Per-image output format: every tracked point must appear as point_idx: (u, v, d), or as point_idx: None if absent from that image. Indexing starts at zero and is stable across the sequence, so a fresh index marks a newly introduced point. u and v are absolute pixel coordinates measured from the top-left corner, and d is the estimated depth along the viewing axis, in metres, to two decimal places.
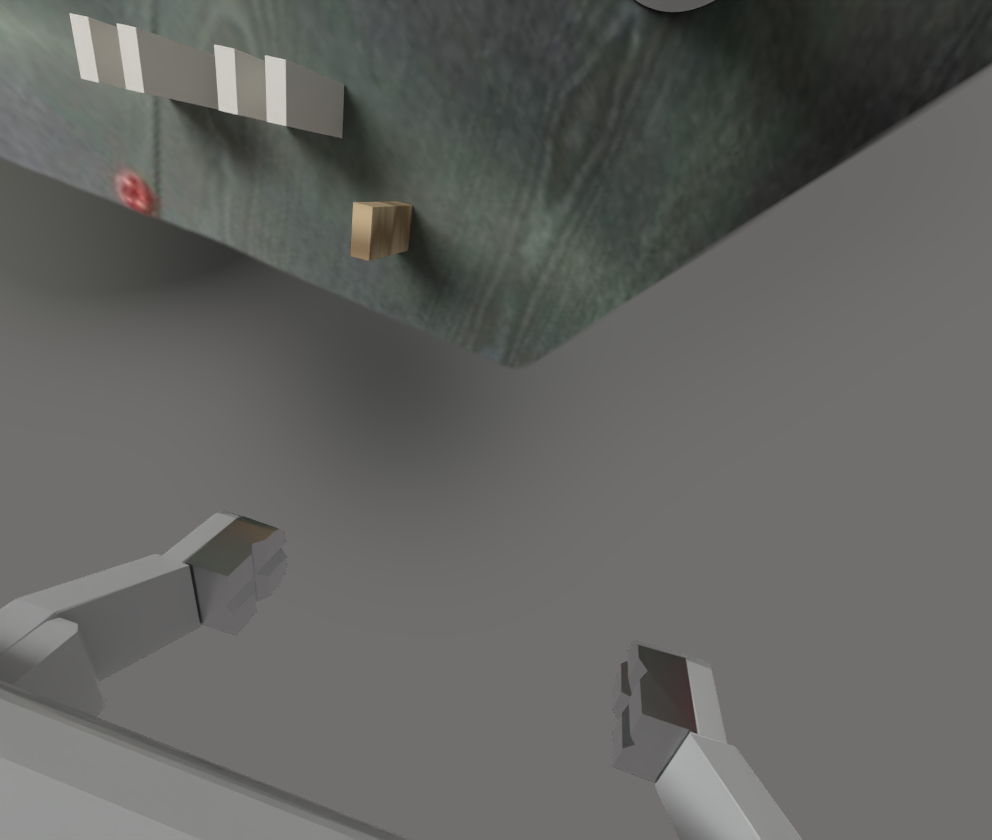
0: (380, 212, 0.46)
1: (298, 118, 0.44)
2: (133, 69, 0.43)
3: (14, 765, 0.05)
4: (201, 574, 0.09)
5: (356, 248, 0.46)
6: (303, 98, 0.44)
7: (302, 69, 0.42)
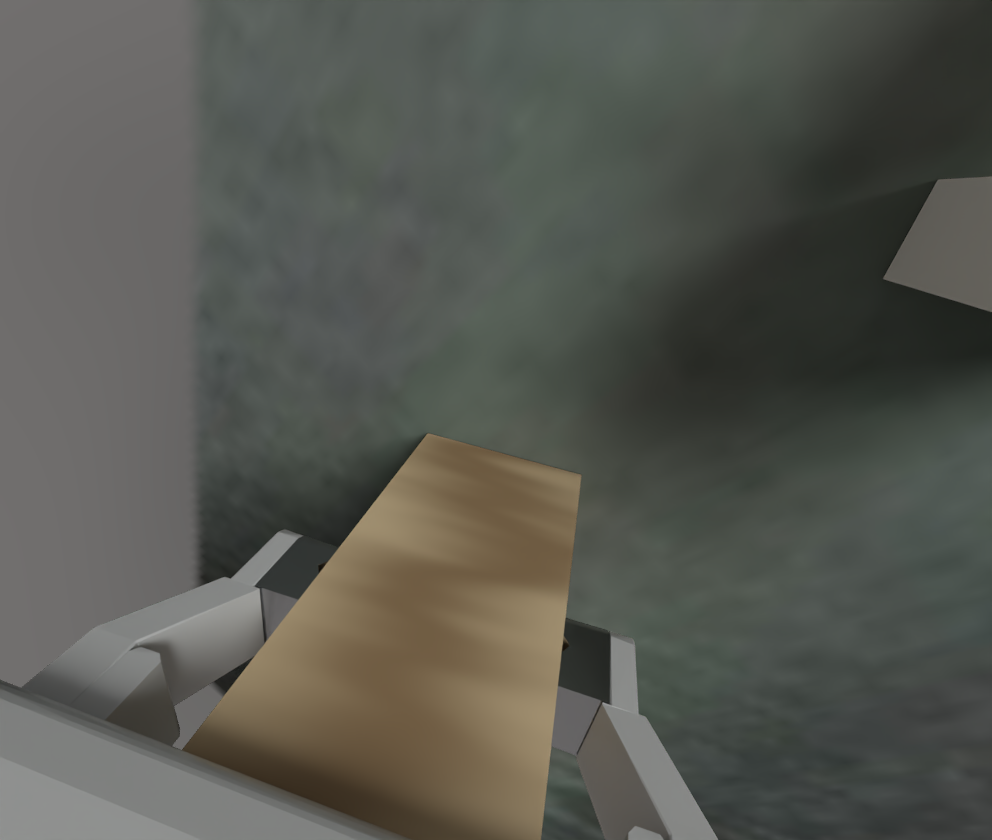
0: None
1: None
2: None
3: (14, 765, 0.05)
4: (271, 597, 0.09)
5: None
6: None
7: None
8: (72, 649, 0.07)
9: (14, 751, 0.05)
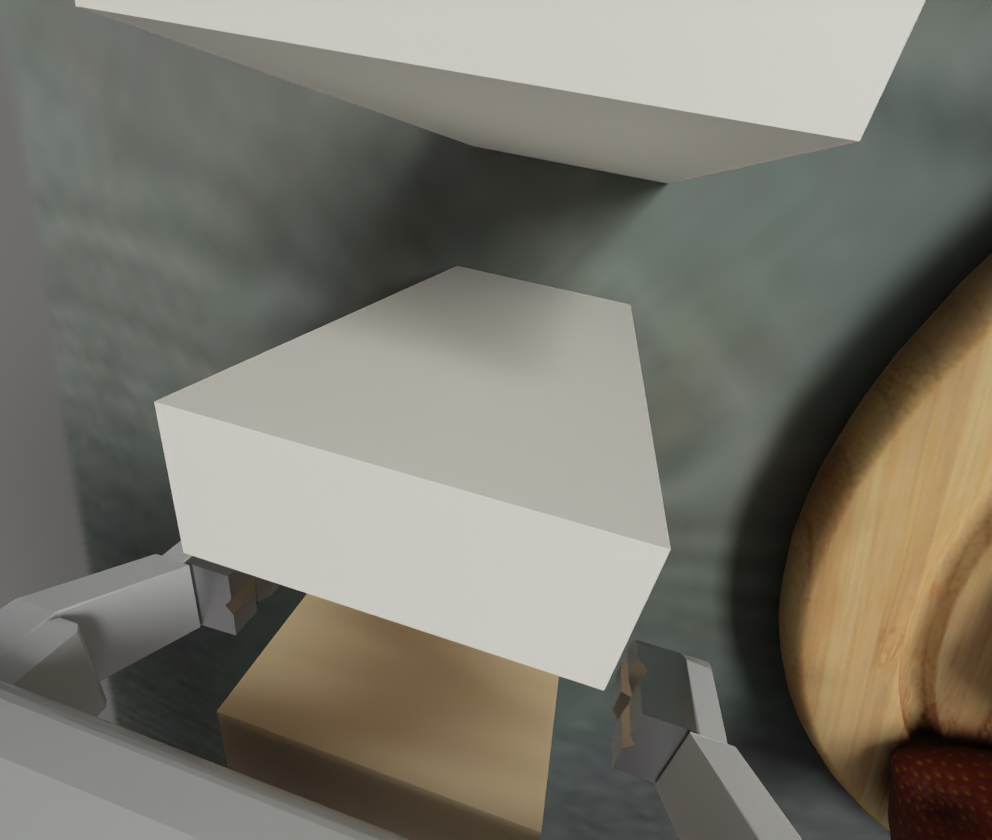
0: None
1: None
2: (316, 540, 0.05)
3: (14, 765, 0.05)
4: (201, 574, 0.09)
5: (270, 752, 0.07)
6: None
7: None
8: None
9: (14, 751, 0.05)
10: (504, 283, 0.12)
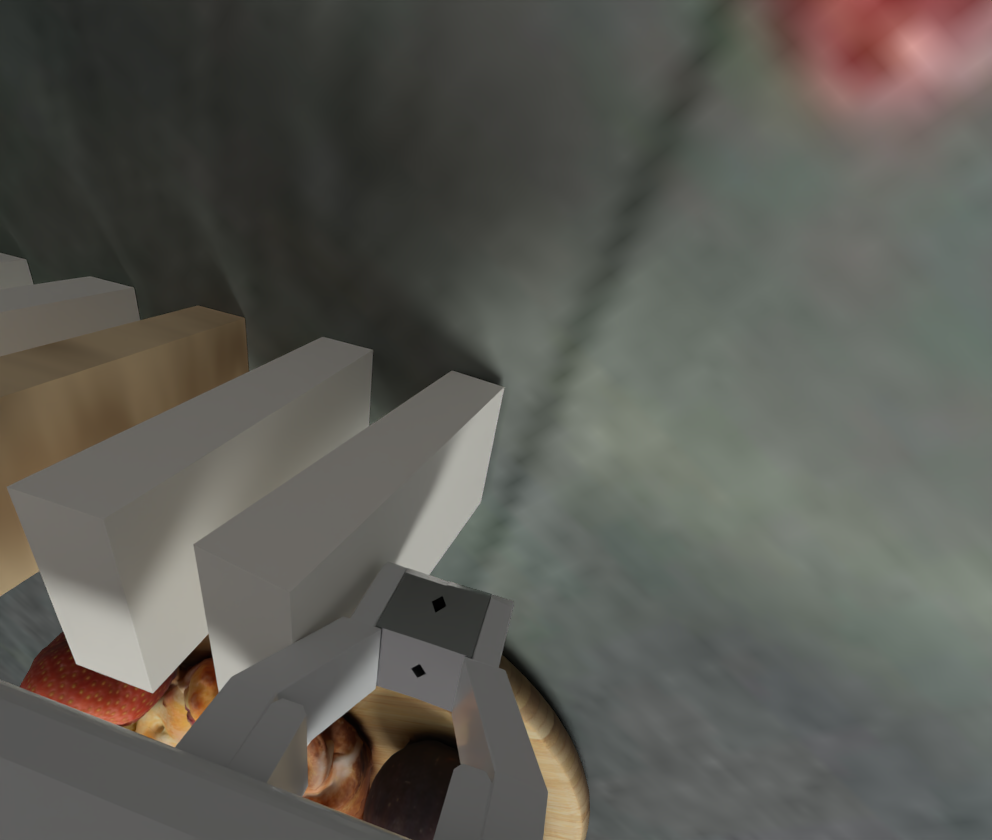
0: None
1: None
2: (71, 571, 0.09)
3: (14, 765, 0.05)
4: (391, 637, 0.09)
5: None
6: None
7: None
8: (215, 702, 0.07)
9: (14, 751, 0.05)
10: (358, 400, 0.17)
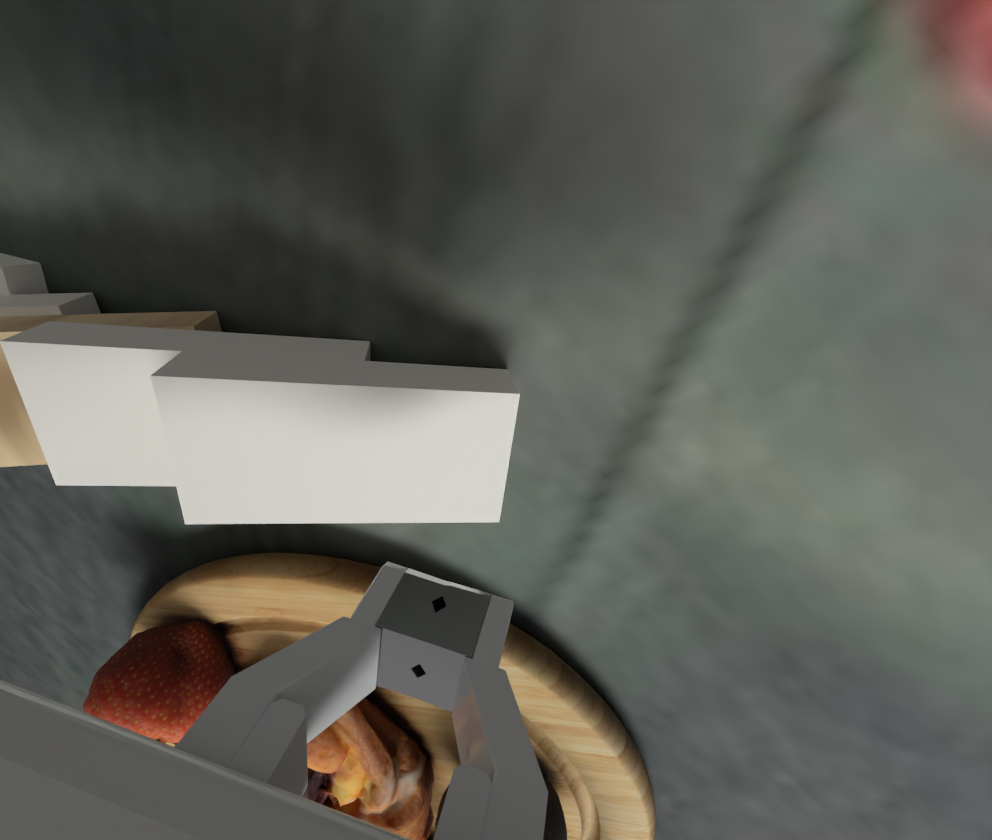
0: None
1: None
2: None
3: (14, 765, 0.05)
4: (391, 637, 0.09)
5: None
6: None
7: None
8: (215, 702, 0.07)
9: (14, 751, 0.05)
10: None
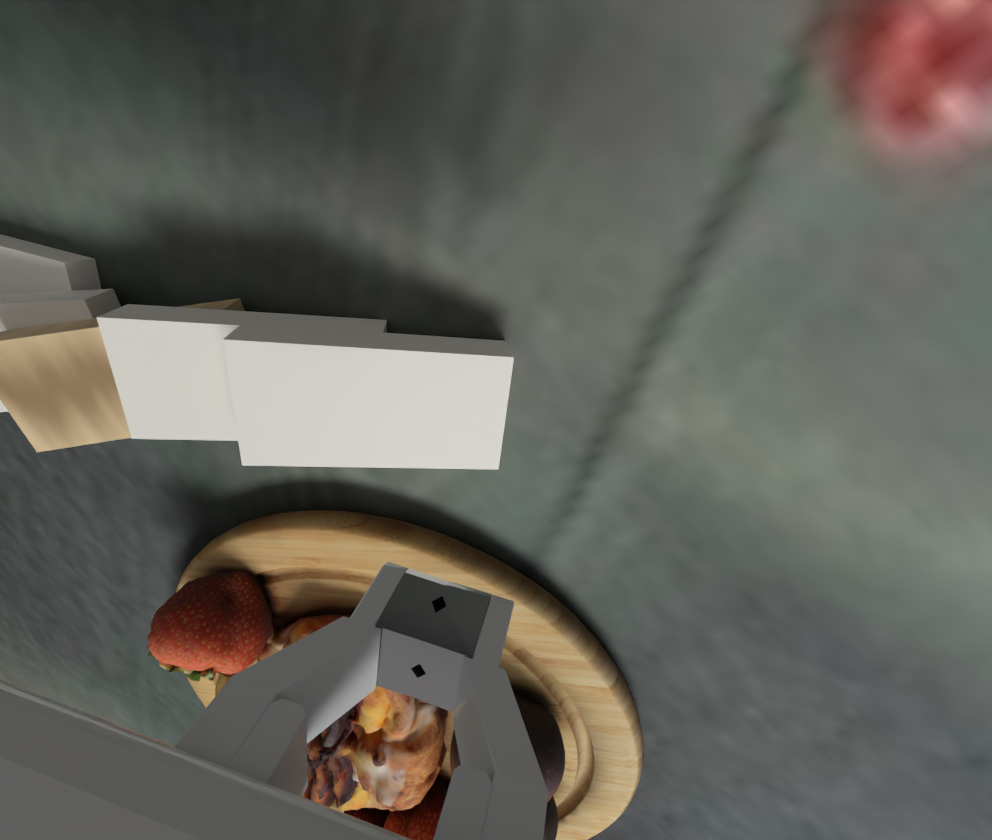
0: None
1: None
2: None
3: (14, 765, 0.05)
4: (391, 637, 0.09)
5: None
6: None
7: None
8: (215, 701, 0.07)
9: (14, 751, 0.05)
10: None
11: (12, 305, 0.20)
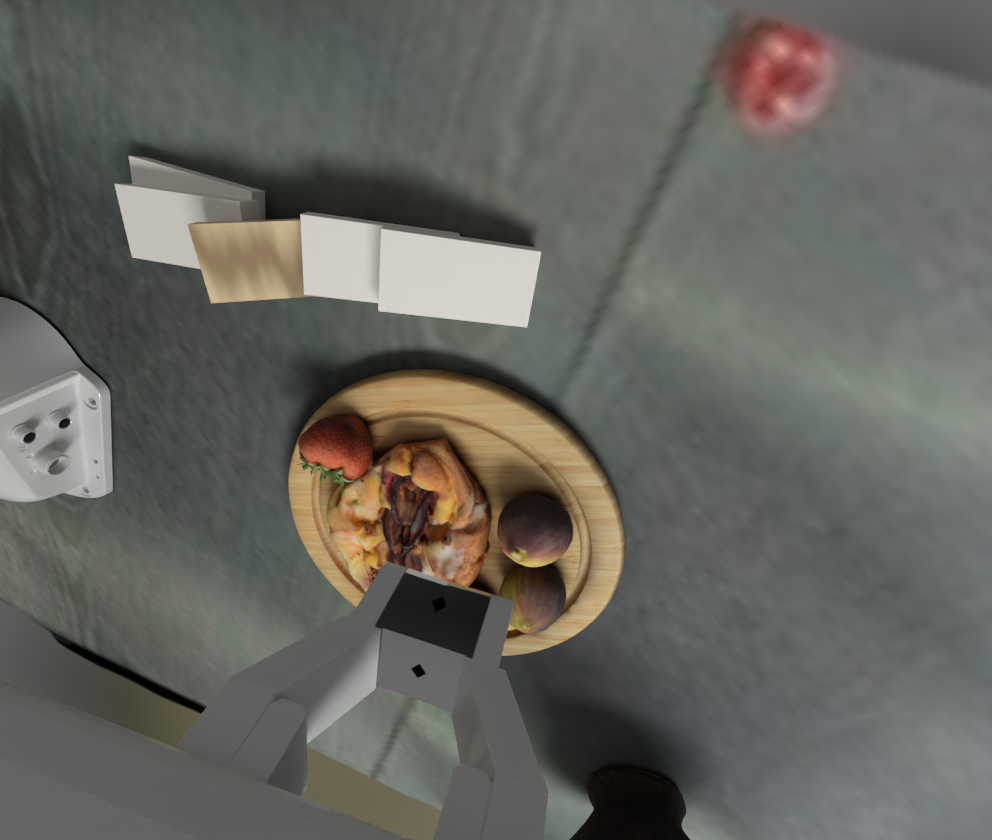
0: None
1: None
2: None
3: (14, 765, 0.05)
4: (391, 637, 0.09)
5: None
6: None
7: None
8: (214, 702, 0.07)
9: (14, 751, 0.05)
10: None
11: (201, 197, 0.32)
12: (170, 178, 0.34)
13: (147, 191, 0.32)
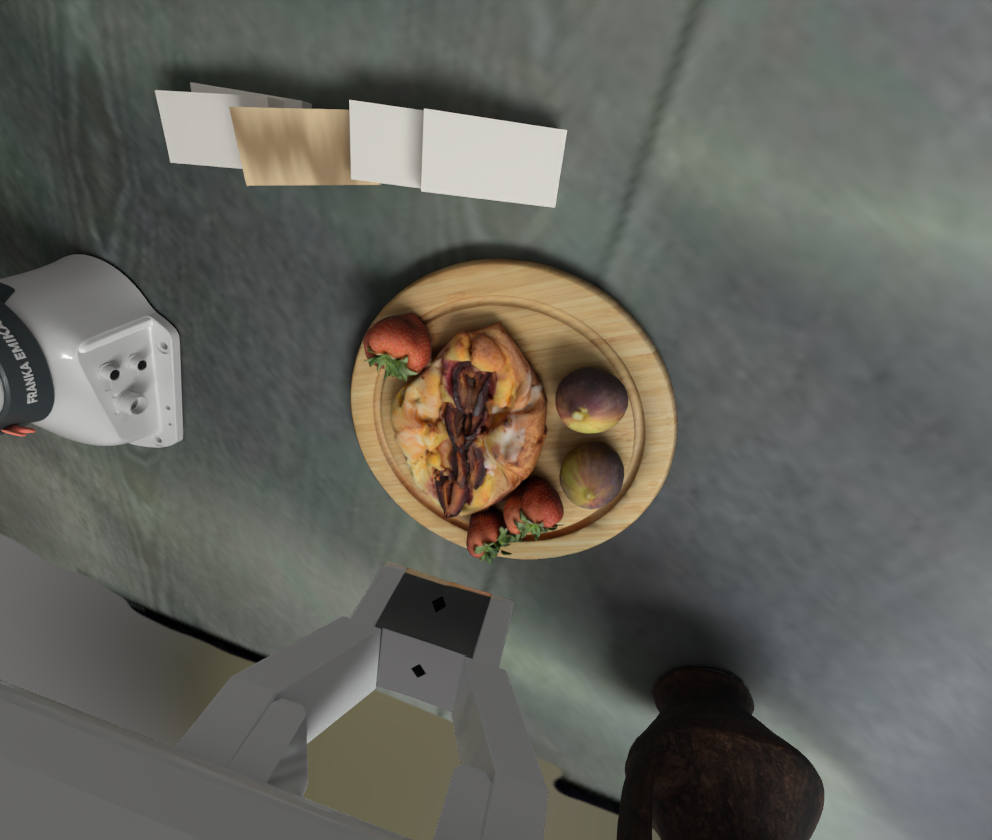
0: None
1: None
2: None
3: (14, 765, 0.05)
4: (391, 637, 0.09)
5: None
6: None
7: None
8: (214, 702, 0.07)
9: (14, 751, 0.05)
10: None
11: (233, 95, 0.35)
12: None
13: (183, 94, 0.36)
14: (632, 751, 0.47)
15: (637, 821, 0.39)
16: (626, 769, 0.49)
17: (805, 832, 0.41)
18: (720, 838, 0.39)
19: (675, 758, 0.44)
